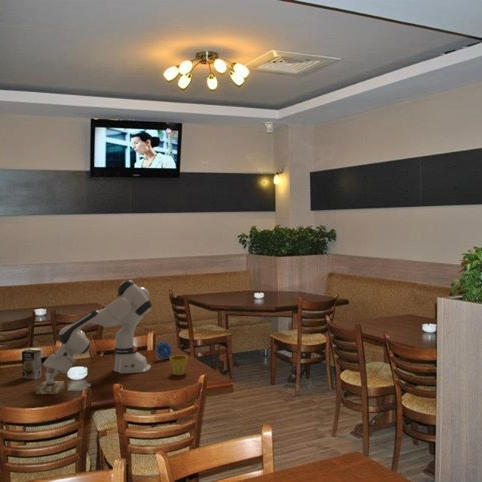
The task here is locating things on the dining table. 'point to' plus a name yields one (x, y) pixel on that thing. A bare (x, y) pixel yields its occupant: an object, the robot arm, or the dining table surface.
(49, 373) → the metal peg
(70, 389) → the sage plate
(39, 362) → the coffee box
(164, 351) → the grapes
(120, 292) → the robot arm
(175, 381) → the dining table surface
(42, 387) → the pocket block
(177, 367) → the plant pot
